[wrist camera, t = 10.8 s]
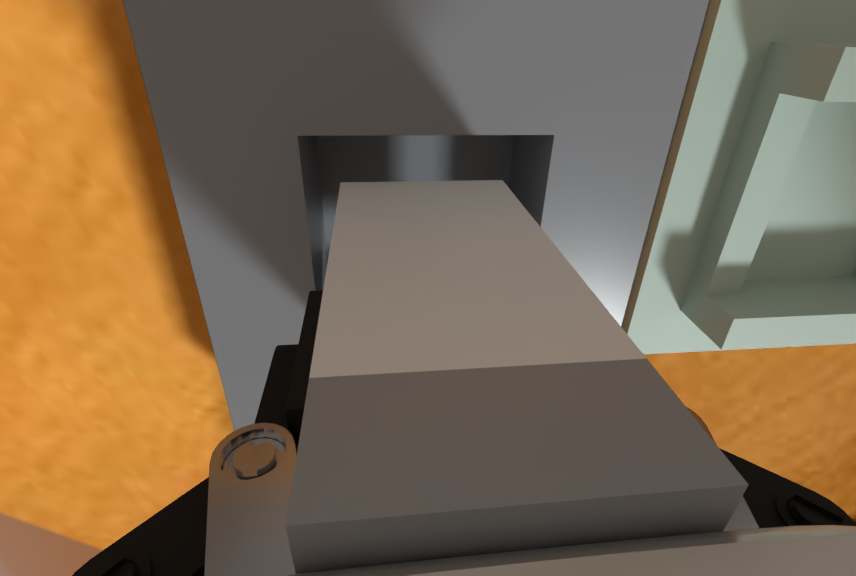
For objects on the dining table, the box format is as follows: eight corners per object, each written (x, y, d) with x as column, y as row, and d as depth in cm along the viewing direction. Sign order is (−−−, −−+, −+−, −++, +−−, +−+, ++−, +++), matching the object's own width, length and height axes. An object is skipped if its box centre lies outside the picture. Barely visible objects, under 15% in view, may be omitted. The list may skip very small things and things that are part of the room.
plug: (502, 180, 13) (748, 484, 5) (485, 350, 16) (616, 725, 8) (340, 182, 13) (285, 526, 4) (353, 357, 16) (336, 765, 7)
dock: (635, -51, 15) (746, -78, 11) (551, 382, 24) (592, 466, 20) (176, -67, 14) (80, -107, 9) (268, 398, 23) (243, 492, 18)
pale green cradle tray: (1091, -34, 17) (1254, -44, 14) (871, 335, 25) (942, 381, 22) (723, -47, 15) (811, -63, 12) (615, 347, 23) (653, 398, 20)
